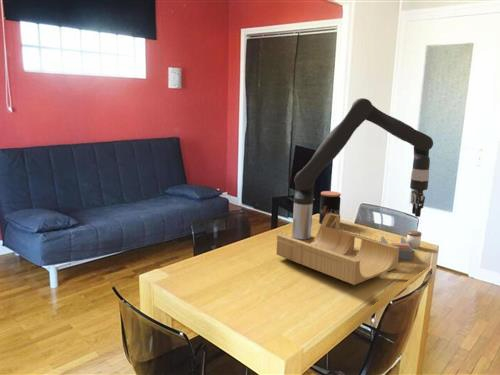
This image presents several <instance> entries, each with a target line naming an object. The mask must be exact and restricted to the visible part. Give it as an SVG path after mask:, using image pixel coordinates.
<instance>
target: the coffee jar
mask: <svg viewBox="0 0 500 375" xmlns="http://www.w3.org/2000/svg"><path fill="white" fill-rule="evenodd" d="M341 195H342V193H341V192H339V191H332V190H326V191H325V190H323V191H321V192H320V202H319V215H318V216H319V219H318V223H319V225H321V224H322V221H323V219H324V217H325V215H326V214H328V213H333V214H335V213H336V214H337V215H340V216H341ZM327 210H328V211H327Z"/></svg>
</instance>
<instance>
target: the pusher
mask: <svg viewBox="0 0 500 375" xmlns="http://www.w3.org/2000/svg"><path fill="white" fill-rule="evenodd" d="M391 245H394V246H398V245H399V249H401V250H410V245H409V244H402V243H401V242H400V244H399V242H391Z"/></svg>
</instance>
